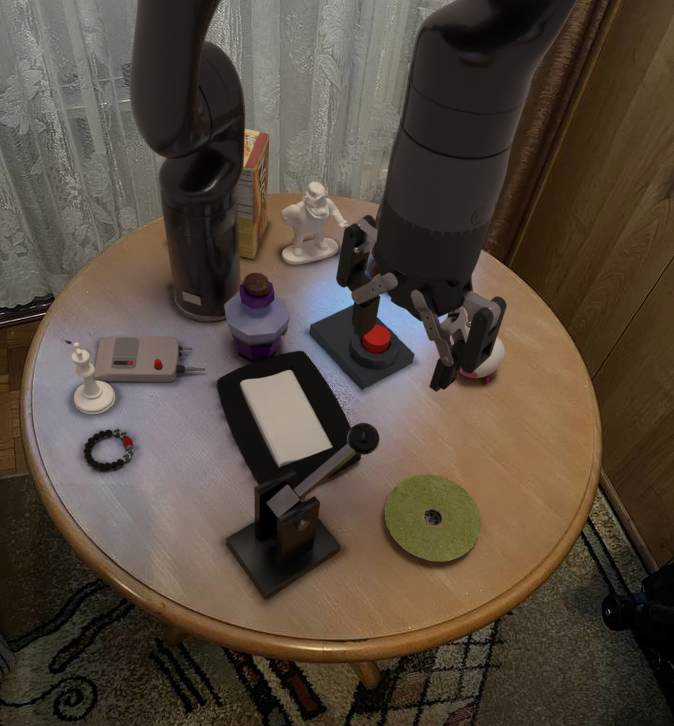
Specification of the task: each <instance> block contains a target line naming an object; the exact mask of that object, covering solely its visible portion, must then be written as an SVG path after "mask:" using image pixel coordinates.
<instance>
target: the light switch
mask: <svg viewBox="0 0 674 726" xmlns="http://www.w3.org/2000/svg"><path fill="white" fill-rule="evenodd" d="M216 389H217V394H218V398H219V401H220V404H221V407H222V410H223V414H224V417H225V419H226V422H227V425H228V427H229V429H230V433H231V434H232V437H233V440H234V441H235V443H236V446H237V448H238V450H239V453H240V454H241V456H242V458H243V460H244V461H245V464H246V465H247V467H248V468H249V470H250V473H251V474H252V476H253V478H254V479H255V481H256V482H257V484H258V485H259V484H261V483H263V482H265V481H266V480H268V479H270V478H272V477H274V476H275V475H277V474H279V473H281V472H282V471H284V470H286V469H288V468H289V467H292V468H293V469H294V470H295V472H296V473H297V477H296V487H297V486H298V485H299V484H300V483H302V482H303V481H304V480H305V479H306V478H307V477H309V476H310V475H311V474H312V473H313V472H314V471H316V470H317V469H318V468H319V467H320V466H322V465H323V464H324V463H325V462H326V461H327V460H329V459H330V458H331V457H332V456H333V455H334V454H336V453H337V452H338V451H339V450H340V449H342V448H343V447H344V446H345V445H346V444H347V443H348V441H347V436H348V433H349V431H350V429H351V428H352V426H351V424H350V422H349V420H348V417H347V416H346V415H347V414H346V413H345V412H344V410H343V408H342V406H341V404H340V402H339V400H338V398H337V397H336V395H335V393H334V391H333V390H332V389H331V387H330V385H329V383H328V382H327V380H326V379H325V377H324V376H323V374H322V373H321V371H320V370H319V369H318V367H317V366H316V365H315V363H314V362H313V361H312V359H311V358H310V357H309V356H308V354H307V353H306V352H305V351H303V350H296V351H290V352H285V353H279V354H275V355H274V356H271V357H267V358H264V359H260V360H257V361H255V362H252V363H251V362H249V363H247V364H244V365H243V366H240V367H238V368H235V369H234V370H232V371H230V372H227V373H226V374H224V375H222V376H220V377H219V378H218V379H217V380H216ZM361 460H362V455H360V454H357V453H356V454H355V455H354V456H353V457H352V458H351V459H349V460H348V461H347V462H346V463H345V464H343V465H342V466H341V467H340V468H339V469H338V470H336V471H335V472H334V473H333V474H332V475H331V476H329V477H328V478H327V479H326V480H328V479H332V478H333V477H334V476H337V475H339V474H341V473H342V472H345V471H346V470H348V469H349V468H351V467H353V466H354V465H356V464H357V463H358V462H360V461H361Z"/></svg>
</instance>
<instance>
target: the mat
mask: <svg viewBox="0 0 674 726" xmlns="http://www.w3.org/2000/svg"><path fill="white" fill-rule="evenodd" d="M481 517H482V516H481V514H480V510H479V506H478V505H477V503H476V501H475V500H474V498H473V497H472V496H471V494H470V493H469V492H468V491H466V489H465V488H464V487H462V486H461V485H460V484H458V483H457V482H456V481H453V480H451V479H448V478H447V477H444V476H440V475H436V474H428V473H427V474H418V475H414V476H410V477H407V478H405V479H403V480H401V481H400V482H399V483H397V484H396V485H395V486H394V487H393V488H392V489H391V491H390V493H389V494H388V496H387V498H386V502H385V507H384V520H385V524H386V527H387V529H388V531H389V533H390V535H391V537H392V538H393V539H394V540H395V542H396V543H397V544H398V545H399V546H401V547H402V549H403V550H405V552H406V551H407V552H408V553H409V554H410V555H411V554H412V555H413V556H415V557H417V558H420V559H423V560H426V561H430V562H449V561H452V560H456V559H459V558H461V557H463V556H464V555H466V554H467V553H468V552H470V551H471V549H473V548H474V546H475V545H476V543H477V542H478V540H479V537H480V533H481V529H482V518H481Z"/></svg>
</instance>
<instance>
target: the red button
mask: <svg viewBox="0 0 674 726" xmlns="http://www.w3.org/2000/svg"><path fill="white" fill-rule="evenodd" d="M390 337H391V336H390V333H389V331H388V330H387V329H386V328H385V327H383V326H380V325H375V327H374V328H373V329H372V330H371V331H370V332H369V333H367V334H366V335H365V336H363V339H362V346H363V347H364V349H365V350H366V351H368V352H370V353H373V354H380V353H383V352H385V351H386V350H387V349H388V346H389V342H390Z"/></svg>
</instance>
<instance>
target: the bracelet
mask: <svg viewBox="0 0 674 726" xmlns="http://www.w3.org/2000/svg"><path fill="white" fill-rule="evenodd" d="M112 435H114V436H115V437H117V436H119V437H120V438H121V439H123V440H122V445H123V446H124V447H125V448H126V450H125V454H123V456H122V458H117V459H116V461H112V462H108V461H107V462H105V463H103V462H99V461H98V460H96V459H95V458H94V457H93V454H92V452H93V451H92V448H93V445H94V444H96V442H98V441H101V439H103V438H105V437H109V438H110V437H111V436H112ZM133 446H134V442H133V440H132V437H129V434H128V432H126V431H122V429H119V428H115V429H110V428H108V429H105V430H99V432H98V433H94V434H93V435H92V436H91V437H88V439H87V442H86V443H84V449H83V453H84V456H83V457H84V459H85V460H86V463H87V464H88V465H91V467H92V468H93V469H97V470H99V471H104V470H106V471H108V470H111V469H113V470H115V469H118V467H123V466H124V465H125V463H126V462H128V461H130V460H131V457H132V456H131V455H132V454H134V451H135V450H134V448H133Z"/></svg>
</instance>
